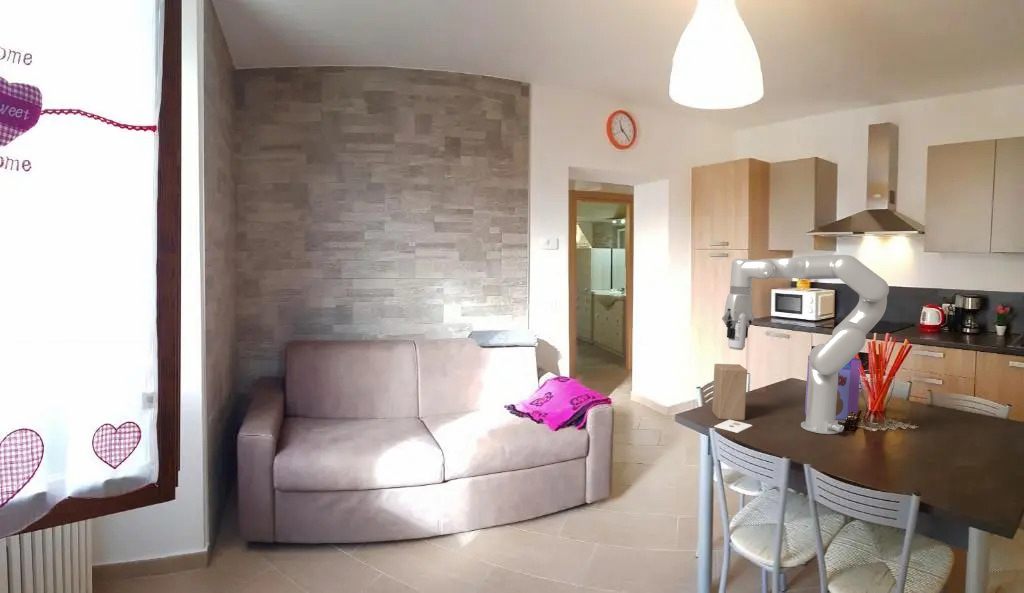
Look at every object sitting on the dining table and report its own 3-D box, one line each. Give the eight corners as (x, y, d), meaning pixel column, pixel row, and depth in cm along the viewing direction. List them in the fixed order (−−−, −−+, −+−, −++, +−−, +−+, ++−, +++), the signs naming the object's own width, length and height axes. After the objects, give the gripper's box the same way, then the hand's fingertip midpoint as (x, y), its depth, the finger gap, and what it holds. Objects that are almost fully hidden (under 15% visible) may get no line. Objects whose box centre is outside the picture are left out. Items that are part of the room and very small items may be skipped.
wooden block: (737, 413, 230) (739, 364, 228) (745, 420, 220) (747, 369, 218) (711, 412, 231) (714, 363, 229) (718, 419, 221) (720, 368, 219)
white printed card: (752, 425, 214) (752, 424, 214) (737, 432, 206) (737, 431, 206) (729, 420, 220) (729, 419, 220) (714, 426, 212) (714, 425, 212)
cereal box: (807, 417, 226) (811, 357, 223) (804, 413, 230) (808, 355, 228) (856, 421, 222) (861, 360, 219) (852, 417, 226) (856, 357, 224)
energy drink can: (748, 350, 219) (751, 311, 217) (735, 350, 217) (738, 311, 215) (736, 347, 224) (739, 309, 223) (724, 347, 222) (727, 309, 220)
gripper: (749, 290, 225) (746, 335, 227) (715, 290, 218) (712, 337, 220) (764, 291, 218) (761, 338, 220) (730, 292, 211) (727, 340, 213)
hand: (737, 337), depth 220 cm, fingers closed on energy drink can, 6 cm apart
